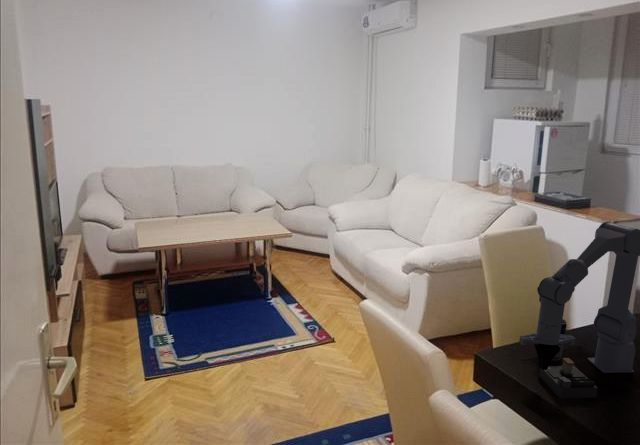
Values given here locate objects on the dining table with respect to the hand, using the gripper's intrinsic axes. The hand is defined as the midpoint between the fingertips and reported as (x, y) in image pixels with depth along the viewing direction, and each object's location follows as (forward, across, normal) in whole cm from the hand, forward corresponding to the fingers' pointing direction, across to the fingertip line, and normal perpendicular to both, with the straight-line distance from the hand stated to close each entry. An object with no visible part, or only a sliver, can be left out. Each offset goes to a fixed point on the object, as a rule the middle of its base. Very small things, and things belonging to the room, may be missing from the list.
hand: (543, 367), depth 137 cm
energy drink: (+5, -11, -15) cm, 20 cm away
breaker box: (+5, -7, +1) cm, 9 cm away
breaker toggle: (+2, -7, 0) cm, 7 cm away
